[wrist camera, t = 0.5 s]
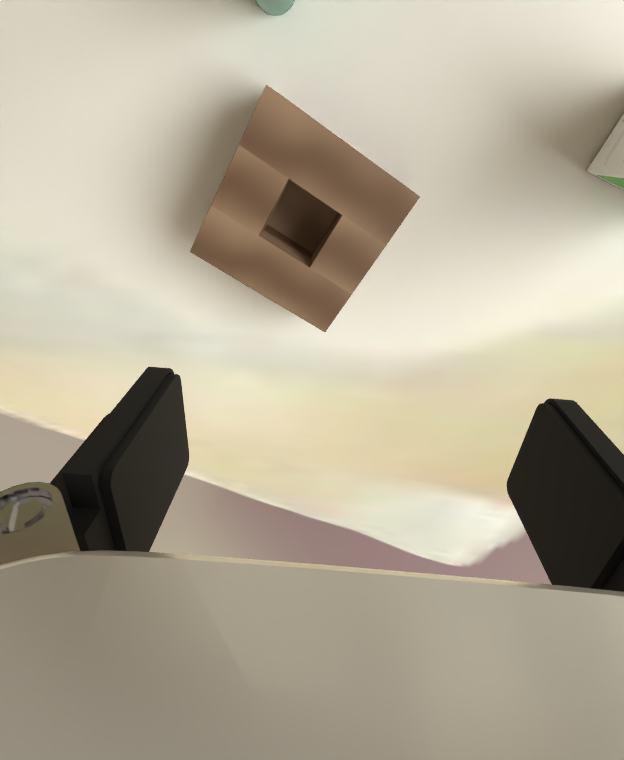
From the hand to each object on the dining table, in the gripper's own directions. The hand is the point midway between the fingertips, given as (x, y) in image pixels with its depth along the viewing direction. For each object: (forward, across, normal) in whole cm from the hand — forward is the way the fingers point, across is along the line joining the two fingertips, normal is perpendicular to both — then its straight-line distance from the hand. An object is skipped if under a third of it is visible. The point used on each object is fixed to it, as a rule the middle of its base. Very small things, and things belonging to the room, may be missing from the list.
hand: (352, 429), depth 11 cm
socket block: (+28, +3, -1) cm, 28 cm away
